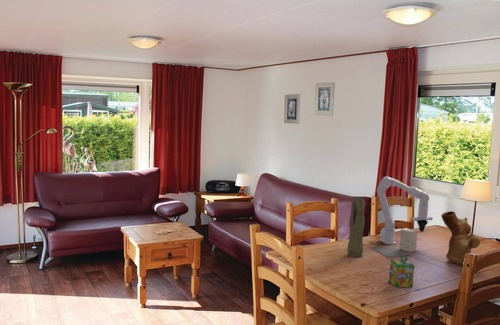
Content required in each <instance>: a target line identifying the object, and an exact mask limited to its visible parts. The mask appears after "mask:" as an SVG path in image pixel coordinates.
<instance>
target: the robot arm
mask: <svg viewBox="0 0 500 325" xmlns="http://www.w3.org/2000/svg"><path fill="white" fill-rule="evenodd" d="M390 187H397V188H400V189H401V190H404V191H405V192H407V194H408V195H409V196H412V197H413V198H414V199H415V198H416V199H418V200H419V203H418V209H417V210H418V212H417V216H415V217H412V220H411V221H412V222H417V226H418V230H419V232H422V233H423V232H424V231H425V228H426V226H427V224H428V223H429V221H433V218H434V217H432V216H428V213H429V212H428V211H429V201H430V197H429V194H428V193H427V192H426V191H424V190H421V189H419V188H417V186H408V185H407V184H405V183H403V182H401V181H400V180H397V179H396V178H393V177H390V176H383V178H381V179H380V182H379V185H378V187H377V190H376V192H377V197H378V199H379V204H380V207H381V210H382V214H383V219H384V227H382V228H381V229H380V236H379V239H378V241H379V242H381V243H384V244H385V245H394V244H397V243H398V242H397V241H395V236H396V229H395V227H396V226H395V224H396V223H395V222H396V221H395V220H394V219H393V217H392V213H391V210H390V206H389V203H388V200H387V196H386V191H387V190H388V188H390Z"/></svg>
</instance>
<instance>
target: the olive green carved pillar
mask: <svg viewBox="0 0 500 325" xmlns="http://www.w3.org/2000/svg"><path fill="white" fill-rule="evenodd" d="M365 203H366V202H365V200H364V198H363V197H359V196H355V197H353V198H352V200H351V206H350V216H349V220H348V221H349V224H348V226H349V236H348V243H347V256H349V257H351V258H355V259H356V258H362V257H363V252H364V243H363V238H364V229H365V221H366V220H365V219H366V218H365V207H366V206H365Z"/></svg>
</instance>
